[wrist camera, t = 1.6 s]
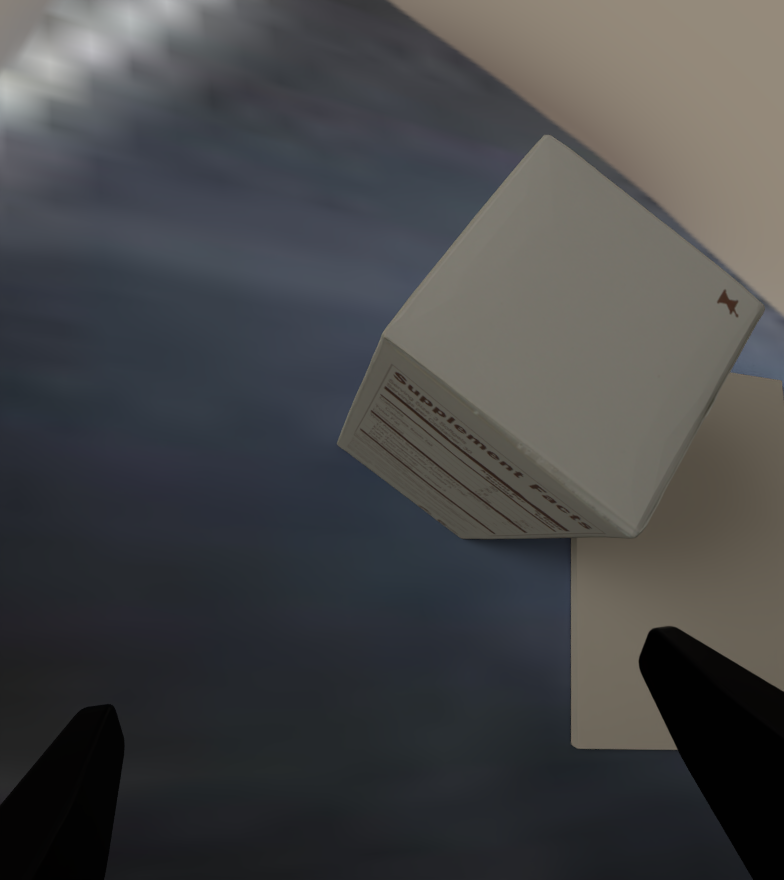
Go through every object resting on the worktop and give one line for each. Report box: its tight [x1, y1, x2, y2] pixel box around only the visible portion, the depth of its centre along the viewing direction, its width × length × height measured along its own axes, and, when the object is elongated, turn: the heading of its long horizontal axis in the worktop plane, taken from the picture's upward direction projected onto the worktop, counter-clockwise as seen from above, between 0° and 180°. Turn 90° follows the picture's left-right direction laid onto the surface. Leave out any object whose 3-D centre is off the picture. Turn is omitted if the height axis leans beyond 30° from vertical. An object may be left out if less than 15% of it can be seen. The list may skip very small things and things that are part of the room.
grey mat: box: [571, 373, 784, 750], centre depth 25 cm, size 18×12×1 cm, turn 176°
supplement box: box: [337, 135, 765, 539], centre depth 18 cm, size 7×7×13 cm
